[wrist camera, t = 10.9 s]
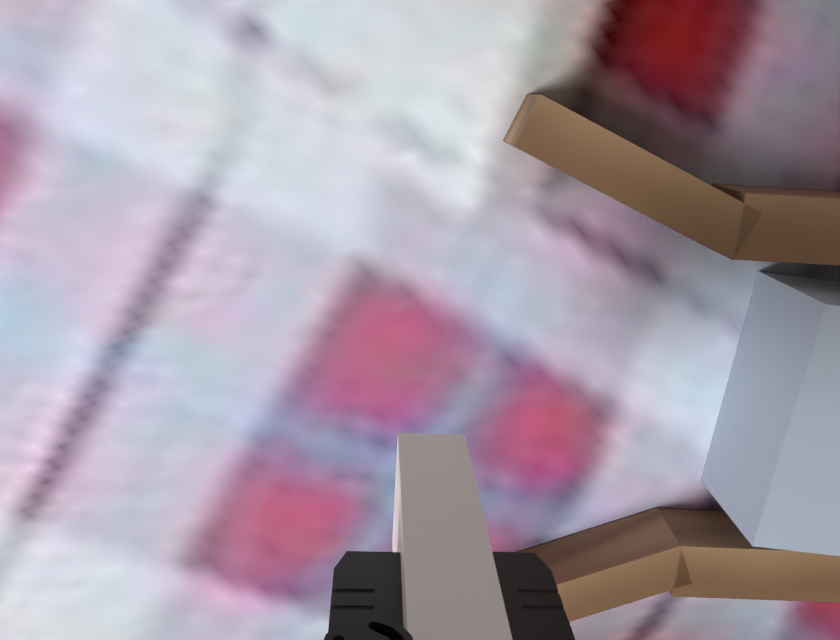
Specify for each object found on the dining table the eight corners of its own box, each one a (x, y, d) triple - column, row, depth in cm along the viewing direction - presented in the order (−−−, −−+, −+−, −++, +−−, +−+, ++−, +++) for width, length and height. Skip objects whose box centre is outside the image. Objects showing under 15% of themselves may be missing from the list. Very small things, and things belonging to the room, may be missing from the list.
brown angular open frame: (507, 92, 24) (522, 92, 21) (1071, 129, 25) (1159, 134, 22) (460, 602, 29) (467, 657, 26) (925, 618, 30) (981, 674, 27)
